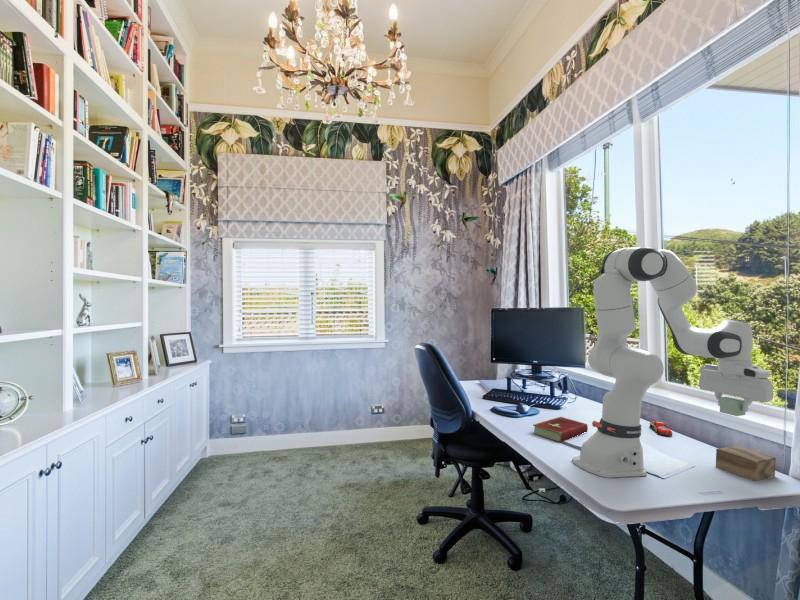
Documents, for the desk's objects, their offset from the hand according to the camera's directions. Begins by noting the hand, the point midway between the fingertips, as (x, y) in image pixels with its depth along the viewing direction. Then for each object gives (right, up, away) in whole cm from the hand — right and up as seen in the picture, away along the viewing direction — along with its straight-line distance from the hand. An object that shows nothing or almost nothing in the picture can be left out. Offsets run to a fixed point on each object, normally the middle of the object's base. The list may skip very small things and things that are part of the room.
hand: (732, 408), depth 136 cm
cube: (0, -2, 0) cm, 2 cm away
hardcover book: (-47, -18, +27) cm, 58 cm away
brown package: (+1, -20, -4) cm, 20 cm away
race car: (-2, -20, +35) cm, 40 cm away
